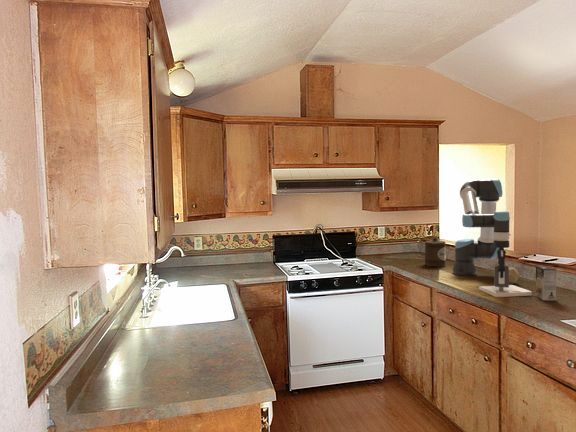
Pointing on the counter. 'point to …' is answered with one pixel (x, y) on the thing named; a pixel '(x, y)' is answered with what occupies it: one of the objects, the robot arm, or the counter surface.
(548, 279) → the coffee box
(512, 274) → the low-poly potato
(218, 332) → the counter surface
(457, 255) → the robot arm
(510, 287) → the panel
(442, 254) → the wooden container
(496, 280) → the grey block with stripe
